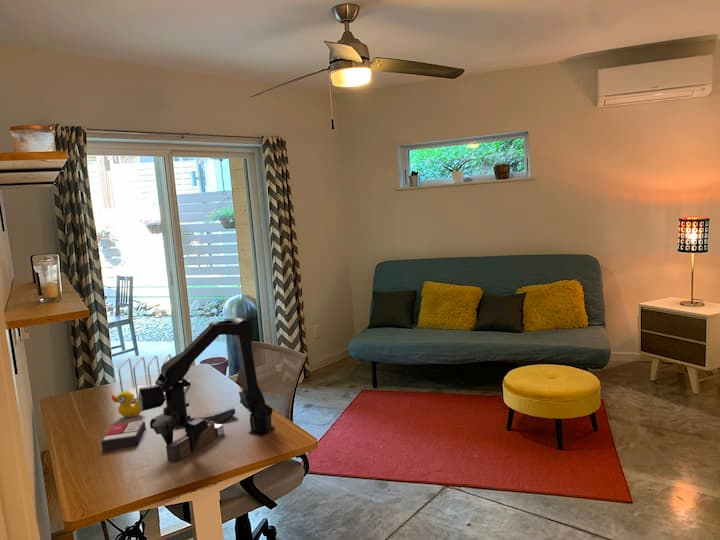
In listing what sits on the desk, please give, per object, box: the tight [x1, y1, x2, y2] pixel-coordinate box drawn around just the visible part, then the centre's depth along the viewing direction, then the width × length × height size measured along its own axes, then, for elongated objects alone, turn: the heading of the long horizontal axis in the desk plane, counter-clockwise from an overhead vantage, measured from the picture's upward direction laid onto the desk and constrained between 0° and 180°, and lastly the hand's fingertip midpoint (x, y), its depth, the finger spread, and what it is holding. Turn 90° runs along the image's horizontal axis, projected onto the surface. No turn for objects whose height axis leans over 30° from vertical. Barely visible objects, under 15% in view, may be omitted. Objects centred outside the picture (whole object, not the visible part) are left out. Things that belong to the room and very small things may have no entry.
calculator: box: [101, 420, 147, 452], centre depth 181 cm, size 11×4×15 cm
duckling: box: [111, 390, 143, 418], centre depth 202 cm, size 11×5×10 cm, turn 91°
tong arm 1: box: [165, 420, 210, 463], centre depth 170 cm, size 1×19×6 cm, turn 156°
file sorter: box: [118, 353, 191, 403], centre depth 226 cm, size 25×17×16 cm
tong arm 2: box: [170, 421, 217, 463], centre depth 169 cm, size 1×19×6 cm, turn 155°
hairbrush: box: [188, 406, 236, 424], centre depth 191 cm, size 8×4×25 cm
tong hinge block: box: [214, 423, 225, 438], centre depth 180 cm, size 4×3×3 cm
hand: (181, 449), depth 165 cm, fingers open, 9 cm apart
